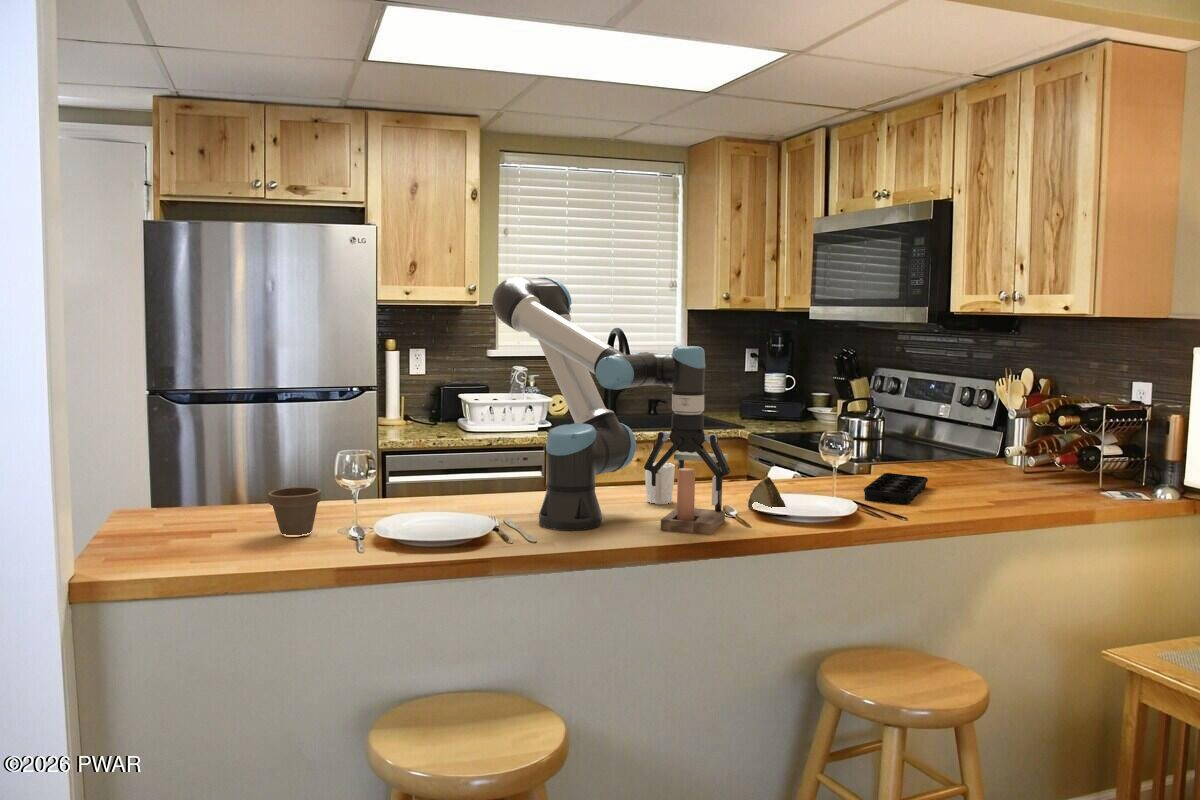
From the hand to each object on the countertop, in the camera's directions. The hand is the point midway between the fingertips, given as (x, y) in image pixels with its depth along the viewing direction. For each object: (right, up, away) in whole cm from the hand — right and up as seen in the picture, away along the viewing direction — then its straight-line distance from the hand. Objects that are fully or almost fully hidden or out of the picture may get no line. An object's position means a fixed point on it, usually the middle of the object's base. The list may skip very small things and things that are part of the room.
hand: (686, 502), depth 235 cm
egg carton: (+62, -3, +44) cm, 76 cm away
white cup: (-5, -3, +30) cm, 31 cm away
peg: (0, -6, +1) cm, 6 cm away
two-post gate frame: (+4, -3, +9) cm, 10 cm away
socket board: (+2, -6, +4) cm, 7 cm away
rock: (+22, -5, +19) cm, 29 cm away
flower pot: (-89, -7, -9) cm, 90 cm away
